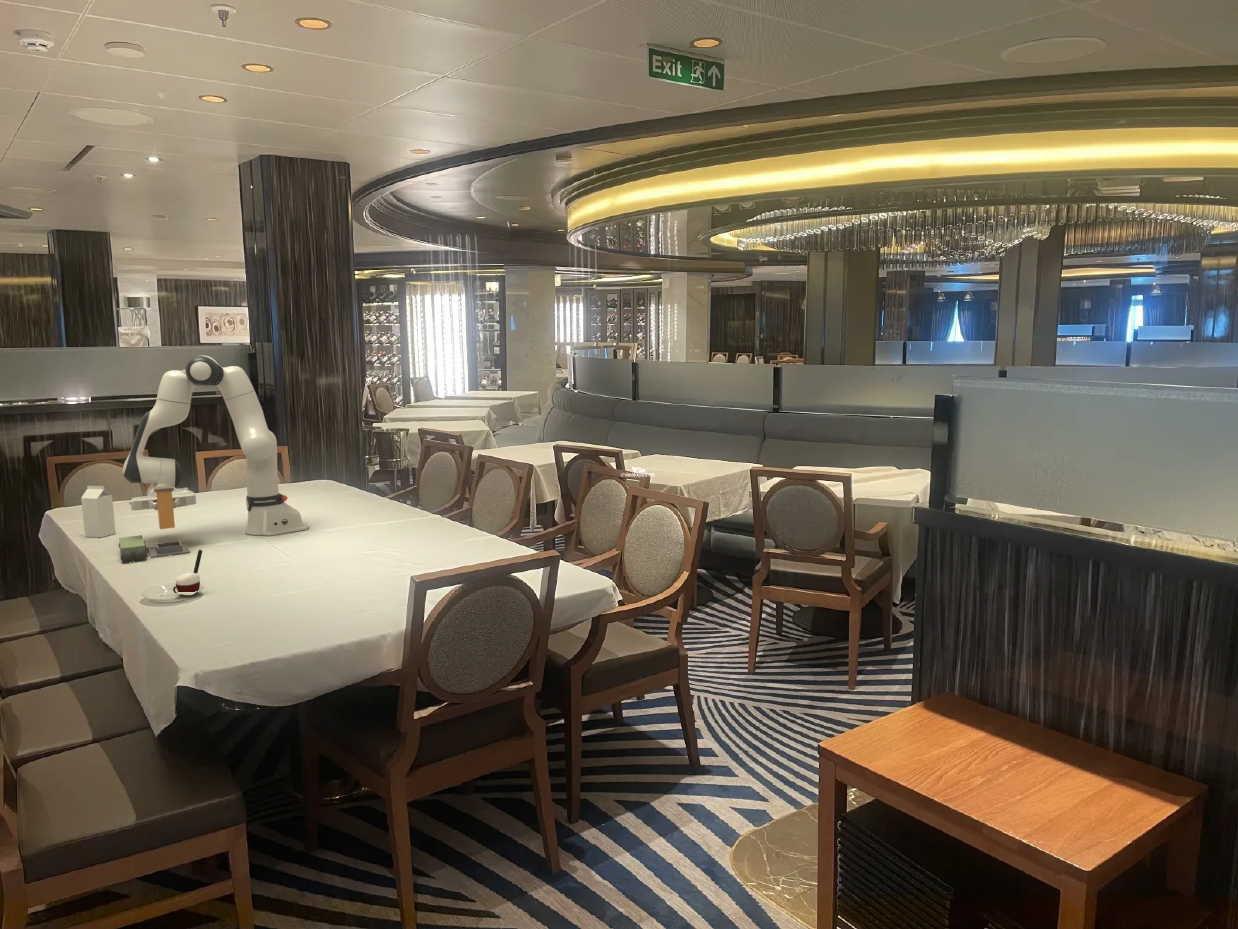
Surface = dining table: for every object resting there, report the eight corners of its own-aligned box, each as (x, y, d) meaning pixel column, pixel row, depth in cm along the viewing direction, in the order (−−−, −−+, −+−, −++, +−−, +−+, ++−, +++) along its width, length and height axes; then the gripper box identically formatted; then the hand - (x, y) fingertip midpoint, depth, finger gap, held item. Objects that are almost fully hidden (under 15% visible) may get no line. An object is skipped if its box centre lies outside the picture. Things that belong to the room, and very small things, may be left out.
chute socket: (186, 546, 307) (186, 538, 307) (190, 553, 297) (189, 545, 296) (148, 550, 301) (148, 543, 300) (150, 558, 291) (150, 550, 290)
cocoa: (175, 601, 245) (169, 560, 242) (170, 595, 250) (165, 555, 247) (211, 593, 250) (206, 553, 248) (206, 587, 255) (201, 548, 253)
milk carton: (101, 538, 321) (96, 487, 318) (85, 537, 322) (79, 487, 319) (116, 533, 328) (111, 484, 325) (99, 533, 329) (94, 484, 326)
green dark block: (144, 548, 305) (143, 534, 304) (148, 560, 287) (146, 546, 287) (119, 551, 301) (117, 537, 300) (121, 564, 283) (119, 549, 283)
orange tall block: (175, 524, 301) (172, 485, 299) (177, 527, 297) (173, 487, 294) (157, 526, 298) (153, 487, 296) (158, 529, 294) (154, 489, 291)
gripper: (128, 492, 301) (129, 499, 290) (192, 487, 312) (196, 492, 300) (129, 510, 302) (131, 517, 291) (194, 504, 313) (198, 510, 301)
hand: (165, 504), depth 296 cm, fingers closed on orange tall block, 4 cm apart
